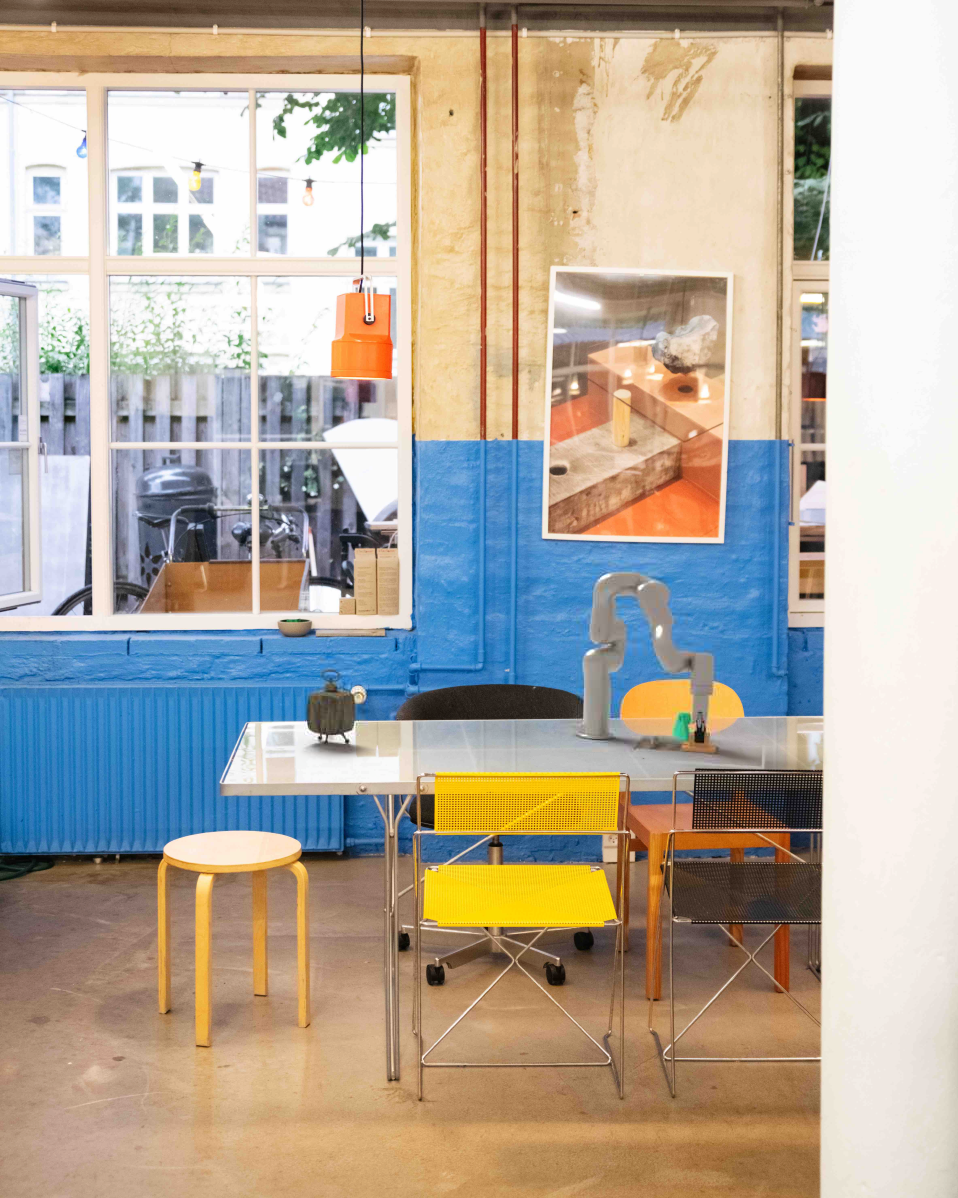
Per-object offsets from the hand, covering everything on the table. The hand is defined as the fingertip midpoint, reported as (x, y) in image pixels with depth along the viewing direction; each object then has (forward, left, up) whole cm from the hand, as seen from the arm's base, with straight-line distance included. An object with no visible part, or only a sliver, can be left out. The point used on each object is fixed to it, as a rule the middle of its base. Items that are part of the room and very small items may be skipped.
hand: (700, 740), depth 385 cm
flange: (0, 0, -3) cm, 3 cm away
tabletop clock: (-120, -32, -4) cm, 124 cm away
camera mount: (-5, +20, -4) cm, 21 cm away
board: (-8, 0, -4) cm, 9 cm away
